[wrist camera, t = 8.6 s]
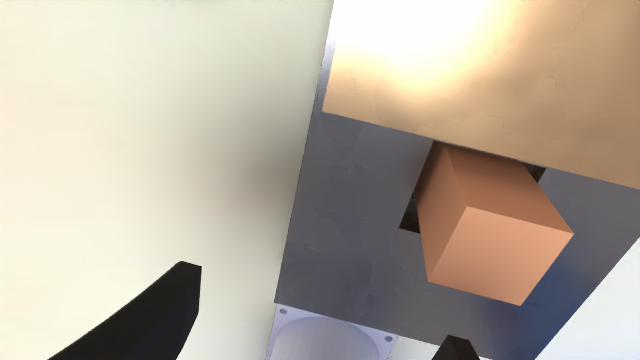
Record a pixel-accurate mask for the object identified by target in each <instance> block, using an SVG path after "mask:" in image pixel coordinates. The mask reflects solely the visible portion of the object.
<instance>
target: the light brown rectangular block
mask: <svg viewBox="0 0 640 360" xmlns="http://www.w3.org/2000/svg"><path fill="white" fill-rule="evenodd" d="M414 192H415V199H416V205H417V212H418V219H419V225H420V232H421V239H422V246H423V252H424V259H425V266H426V272H427V279H428V282H431V283H435V284H439V285H443V286H447V287H450V288H454V289H458V290H462V291H466V292H469V293H473V294H477V295H481V296H485V297H488V298H492V299H496V300H500V301H504V302H507V303H511V304H515V305H519V306H521V305H522V303H523V302H524V301H525V299H526V298H527V297H528V295H529V294H530V293H531V291H532V290H533V289H534V287H535V286H536V284H537V283H538V282H539V280H540V279H541V278H542V276H543V275H544V274H545V272H546V271H547V270H548V268H549V267H550V266H551V264H552V263H553V262H554V260H555V259H556V258H557V256H558V255H559V254H560V252H561V251H562V250H563V248H564V247H565V246H566V244H567V243H568V242H569V240H570V239H571V237H572V236H573V235H574V233H573V232H572V230H571V229H570V228H569V226H568V225H567V223H566V222H565V221H564V219H563V218H562V217H561V215H560V214H559V213H558V211H557V210H556V208H555V207H554V206H553V204H552V203H551V202H550V200H549V199H548V197H547V196H546V195H545V193H544V192H543V191H542V189H541V188H540V187H539V185H538V184H537V182H536V181H535V180H534V178H533V177H532V176H531V174H530V173H529V172H528V170H527V169H526V167H525V166H524V165H523V163H522V162H520V161H516V160H512V159H508V158H504V157H500V156H496V155H492V154H487V153H483V152H479V151H475V150H471V149H467V148H463V147H459V146H455V145H451V144H447V143H443V142H439V141H435V140H434V141H433V143H432V146H431V148H430V151H429V153H428V156H427V158H426V161H425V163H424V166H423V168H422V171H421V173H420V176H419V178H418V181H417V183H416V186H415V188H414Z"/></svg>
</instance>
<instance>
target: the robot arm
mask: <svg viewBox="0 0 640 360" xmlns="http://www.w3.org/2000/svg"><path fill="white" fill-rule="evenodd" d="M201 271H202V266H198V265H195V264H191V263H187V262H184V261H180V262H178V263H176V264H175V265H174V266H173V267H172V268H171V269H170V270H168V271H167V272H166V273H165V274H164V275H162V276H161V277H160V278H159V279H158V280H156V281H155V282H154V283H153V284H152V285H150V286H149V287H148V288H147V289H145V290H144V291H143V292H142V293H140V294H139V295H138V296H137V297H135V298H134V299H133V300H131V301H130V302H129V303H128V304H126V305H125V306H124V307H122V308H121V309H120V310H118V311H117V312H116V313H114V314H113V315H112V316H110V317H109V318H108V319H106V320H105V321H104V322H102V323H101V324H99V325H98V326H96V327H95V328H94V329H92V330H91V331H89V332H88V333H86V334H85V335H84V336H82V337H81V338H79V339H78V340H77V341H75V342H74V343H72V344H71V345H69V346H68V347H66V348H65V349H63V350H62V351H60V352H58V353H57V354H55V355H54V356H52V357H51V358H49V359H48V360H176V359H177V357H178V355H179V353H180V352H181V350H182V348H183V346H184V344H185V342H186V340H187V337H188V335H189V333H190V331H191V329H192V326H193V324H194V322H195V320H196V317H197V315H198V312H199V298H200V284H201ZM397 337H398V335H396V334H392V333H389V332H385V331H381V330H377V329H373V328H369V327H366V326H362V325H358V324H354V323H350V322H346V321H343V320H339V319H335V318H331V317H327V316H323V315H320V314H316V313H312V312H308V311H304V310H301V309H297V308H293V307H289V306H285V305H281V304H278V303H277V308H276V313H275V317H274V322H273V327H272V332H271V337H270V341H269V346H268V351H267V356H266V360H386V359H387V357H388V355H389V353H390V351H391V349H392V347H393V345H394V343H395V341H396V339H397ZM432 360H480V359H479V357H478V355H477V353H476V351H475V350H474V348H473V346H472V344H471V342H470V341H469V340H467V339H463V338H460V337H456V336H452V335H449V334H448V335H447V337H446V338H445V340H444V341H443V343H442V345H441V346H440V348H439V349H438V351H437V352H436V354H435V355H434V357H433V358H432Z"/></svg>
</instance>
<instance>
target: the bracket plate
mask: <svg viewBox="0 0 640 360" xmlns="http://www.w3.org/2000/svg"><path fill="white" fill-rule="evenodd" d="M434 140H435V141H439V142H443V143H447V144H451V145H455V146H459V147H463V148H467V149H471V150H475V151H479V152H483V153H487V154H492V155H496V156H500V157H504V158H508V159H512V160H516V161H520V162H522V163H523V165H524V166H525V167H526V169H527V170H528V172H529V173H530V174H531V176H532V177H533V178H534V180H535V181H536V182H537V184H538V185H539V187H540V188H541V189H542V191H543V192H544V193H545V195H546V196H547V197H548V199H549V200H550V202H551V203H552V204H553V206H554V207H555V208H556V210H557V211H558V213H559V214H560V215H561V217H562V218H563V219H564V221H565V222H566V223H567V225H568V226H569V228H570V229H571V230H572V232H573V233H574V235H573V236H572V237H571V239H570V240H569V242H568V243H567V244H566V246H565V247H564V248H563V250H562V251H561V252H560V254H559V255H558V256H557V258H556V259H555V260H554V262H553V263H552V264H551V266H550V267H549V268H548V270H547V271H546V272H545V274H544V275H543V276H542V278H541V279H540V280H539V282H538V283H537V284H536V286H535V287H534V289H533V290H532V291H531V293H530V294H529V295H528V297H527V298H526V299H525V301H524V302H523V303H522V305H521V306H519V305H515V304H511V303H507V302H504V301H500V300H496V299H492V298H488V297H485V296H481V295H477V294H473V293H469V292H466V291H462V290H458V289H454V288H450V287H447V286H443V285H439V284H435V283H431V282H428V279H427V272H426V266H425V259H424V252H423V246H422V239H421V232H420V225H419V219H418V212H417V205H416V199H415V198H413V197H411V196H412V193H413V191H414V188H415V186H416V183H417V181H418V178H419V176H420V173H421V171H422V168H423V166H424V163H425V161H426V158H427V156H428V153H429V151H430V148H431V146H432V143H433V141H434ZM639 237H640V0H335V1H334V6H333V11H332V16H331V21H330V26H329V31H328V36H327V41H326V46H325V51H324V56H323V60H322V65H321V70H320V75H319V80H318V85H317V90H316V95H315V100H314V105H313V110H312V115H311V120H310V125H309V130H308V135H307V140H306V145H305V150H304V155H303V160H302V165H301V170H300V175H299V180H298V185H297V190H296V195H295V200H294V205H293V210H292V215H291V220H290V225H289V230H288V235H287V240H286V245H285V250H284V255H283V260H282V265H281V270H280V275H279V280H278V285H277V290H276V295H275V300H274V303H278V304H281V305H285V306H289V307H293V308H297V309H301V310H304V311H308V312H312V313H316V314H320V315H323V316H327V317H331V318H335V319H339V320H343V321H346V322H350V323H354V324H358V325H362V326H366V327H369V328H373V329H377V330H381V331H385V332H389V333H392V334H396V335H400V336H404V337H408V338H412V339H415V340H419V341H423V342H427V343H431V344H434V345H438V346H441V345H442V343H443V341H444V340H445V338H446V337H447V335H448V334H449V335H452V336H456V337H460V338H463V339H467V340H469V341H470V342H471V344H472V346H473V348H474V350H475V351H476V353H477V355H478V356H480V357H484V358H488V359H492V360H535V359H536V357H537V356H538V355H539V354H540V353H541V352H542V350H543V349H544V348H545V347H546V346H547V345H548V343H549V342H550V341H551V340H552V339H553V338H554V336H555V335H556V334H557V333H558V332H559V330H560V329H561V328H562V327H563V326H564V325H565V323H566V322H567V321H568V320H569V319H570V318H571V316H572V315H573V314H574V313H575V312H576V311H577V309H578V308H579V307H580V306H581V305H582V304H583V302H584V301H585V300H586V299H587V298H588V297H589V295H590V294H591V293H592V292H593V291H594V290H595V288H596V287H597V286H598V285H599V284H600V283H601V281H602V280H603V279H604V278H605V277H606V276H607V274H608V273H609V272H610V271H611V270H612V269H613V267H614V266H615V265H616V264H617V263H618V262H619V260H620V259H621V258H622V257H623V256H624V255H625V253H626V252H627V251H628V250H629V249H630V248H631V246H632V245H633V244H634V243H635V242H636V241H637V239H638V238H639Z"/></svg>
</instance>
